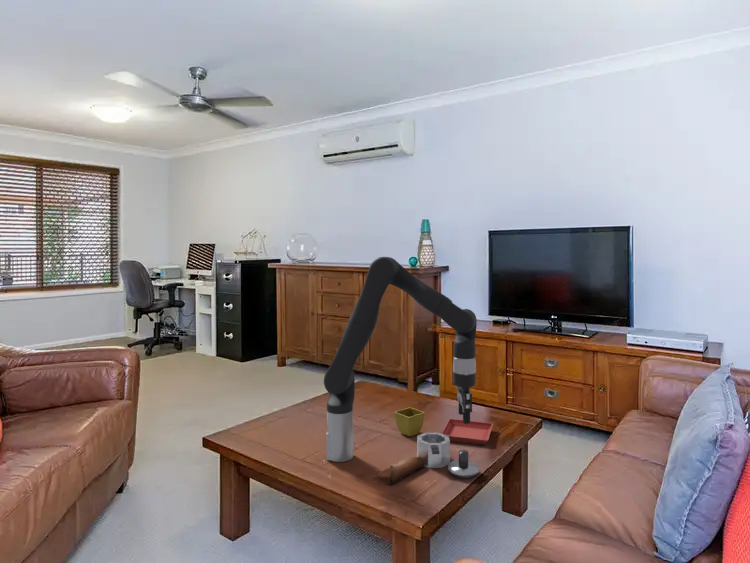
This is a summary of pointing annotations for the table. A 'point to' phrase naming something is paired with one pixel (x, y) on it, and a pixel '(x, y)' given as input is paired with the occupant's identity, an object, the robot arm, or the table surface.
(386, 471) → the sunglasses case
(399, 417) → the flower pot
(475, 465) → the lid
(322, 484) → the table surface
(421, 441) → the pot
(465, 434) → the plant saucer
